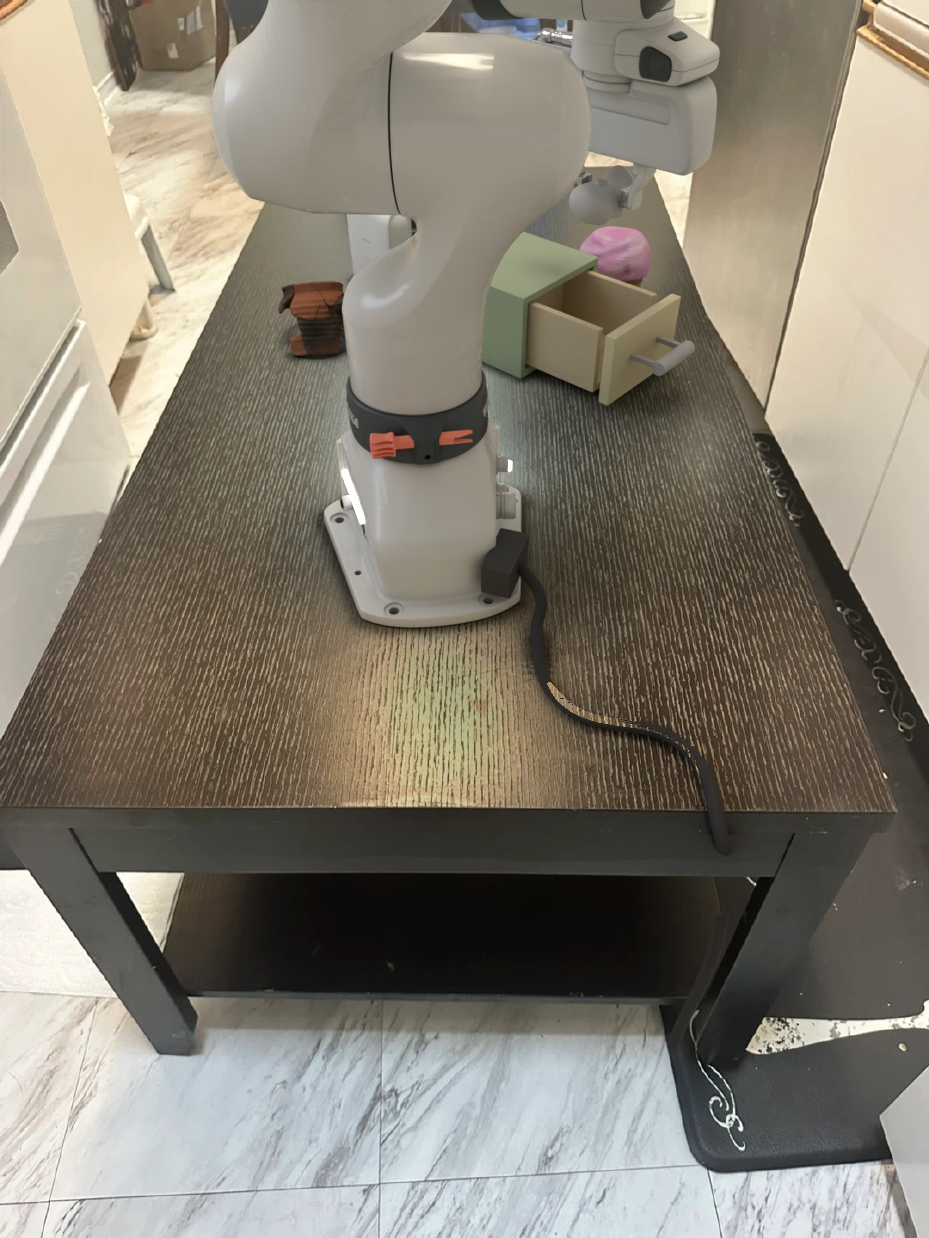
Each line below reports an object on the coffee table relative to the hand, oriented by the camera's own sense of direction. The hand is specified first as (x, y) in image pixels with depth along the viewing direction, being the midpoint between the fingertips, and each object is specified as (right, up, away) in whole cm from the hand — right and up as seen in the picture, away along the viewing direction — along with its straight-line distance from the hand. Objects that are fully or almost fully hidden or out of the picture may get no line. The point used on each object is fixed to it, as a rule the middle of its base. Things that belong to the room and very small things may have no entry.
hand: (604, 200), depth 90 cm
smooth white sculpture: (0, -1, +1) cm, 2 cm away
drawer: (+1, -14, +11) cm, 18 cm away
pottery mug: (-31, -9, +18) cm, 37 cm away
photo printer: (-25, +1, +28) cm, 38 cm away
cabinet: (-10, -8, +19) cm, 22 cm away
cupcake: (+4, -3, +23) cm, 24 cm away
